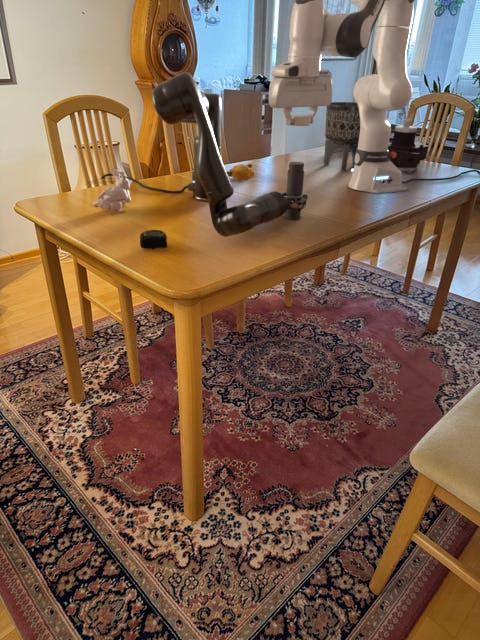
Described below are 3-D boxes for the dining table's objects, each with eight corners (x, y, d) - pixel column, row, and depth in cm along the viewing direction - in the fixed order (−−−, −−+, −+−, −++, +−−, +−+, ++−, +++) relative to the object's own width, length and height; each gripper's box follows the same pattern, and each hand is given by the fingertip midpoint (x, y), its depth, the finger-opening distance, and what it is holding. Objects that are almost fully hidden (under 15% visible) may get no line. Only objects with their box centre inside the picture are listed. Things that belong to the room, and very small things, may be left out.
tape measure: (140, 252, 115) (139, 238, 113) (141, 242, 120) (140, 229, 119) (167, 251, 116) (166, 237, 114) (167, 241, 121) (166, 228, 120)
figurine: (140, 206, 149) (137, 167, 143) (105, 217, 138) (99, 175, 132) (123, 202, 153) (119, 163, 146) (87, 213, 142) (81, 171, 136)
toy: (223, 172, 179) (229, 164, 192) (228, 188, 182) (234, 178, 195) (249, 163, 176) (253, 155, 188) (254, 179, 179) (258, 170, 191)
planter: (313, 167, 208) (319, 103, 195) (331, 160, 222) (338, 101, 209) (353, 173, 199) (362, 107, 185) (369, 166, 213) (379, 104, 199)
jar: (301, 219, 141) (306, 164, 133) (286, 219, 140) (290, 164, 132) (298, 215, 145) (302, 161, 137) (283, 215, 145) (286, 161, 136)
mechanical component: (374, 119, 196) (402, 114, 215) (366, 169, 206) (394, 160, 226) (423, 124, 184) (449, 118, 203) (412, 177, 194) (437, 167, 214)
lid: (313, 124, 131) (314, 115, 129) (305, 126, 126) (305, 117, 125) (294, 122, 133) (295, 113, 132) (286, 125, 129) (286, 115, 128)
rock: (345, 148, 251) (347, 136, 248) (358, 151, 246) (360, 138, 242) (330, 151, 244) (331, 138, 240) (343, 154, 238) (344, 141, 235)
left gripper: (290, 198, 124) (319, 187, 136) (248, 190, 132) (279, 180, 143) (288, 225, 128) (317, 212, 140) (247, 215, 135) (278, 203, 147)
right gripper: (324, 68, 130) (319, 121, 137) (266, 68, 120) (264, 125, 127) (340, 69, 125) (334, 123, 132) (280, 69, 116) (277, 127, 123)
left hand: (298, 195), depth 142 cm, fingers closed on jar, 5 cm apart
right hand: (299, 124), depth 130 cm, fingers closed on lid, 5 cm apart
